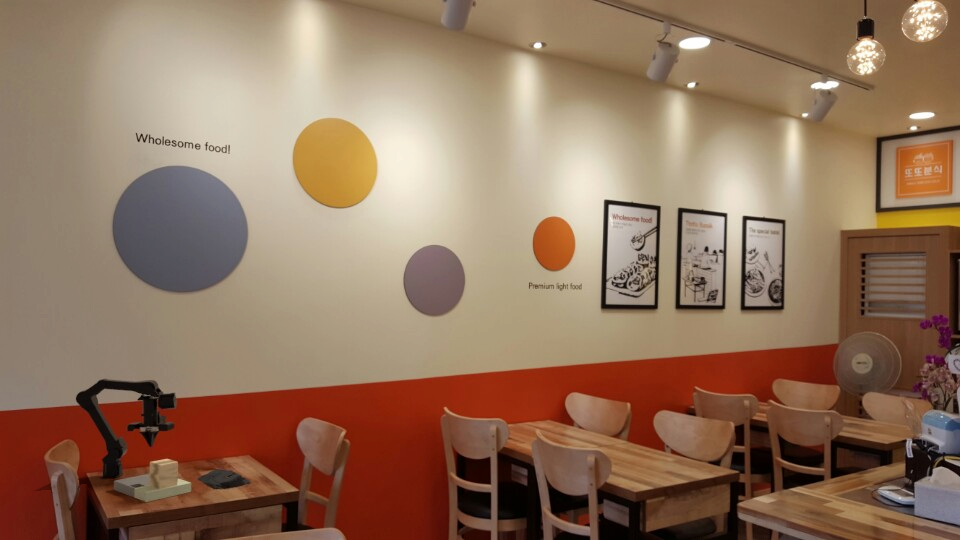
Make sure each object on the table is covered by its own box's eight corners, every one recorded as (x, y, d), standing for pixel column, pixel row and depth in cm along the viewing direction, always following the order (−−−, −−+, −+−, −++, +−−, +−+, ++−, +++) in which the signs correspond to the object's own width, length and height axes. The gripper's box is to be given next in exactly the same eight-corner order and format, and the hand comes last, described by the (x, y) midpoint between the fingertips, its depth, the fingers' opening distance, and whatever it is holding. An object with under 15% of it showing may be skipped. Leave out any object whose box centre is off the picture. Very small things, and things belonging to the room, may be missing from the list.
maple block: (149, 485, 275) (149, 461, 275) (166, 481, 281) (167, 458, 281) (160, 489, 270) (160, 465, 270) (177, 485, 276) (178, 462, 276)
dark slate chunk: (230, 474, 309) (230, 463, 309) (252, 485, 292) (253, 473, 293) (194, 480, 298) (195, 468, 298) (216, 491, 282) (216, 479, 282)
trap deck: (113, 489, 280) (114, 480, 280) (157, 480, 295) (157, 471, 295) (146, 502, 265) (146, 492, 265) (191, 491, 280) (191, 482, 280)
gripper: (181, 406, 310) (182, 442, 309) (141, 407, 312) (142, 442, 312) (166, 411, 299) (167, 448, 298) (125, 411, 301) (126, 448, 301)
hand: (151, 446), depth 303 cm, fingers closed
